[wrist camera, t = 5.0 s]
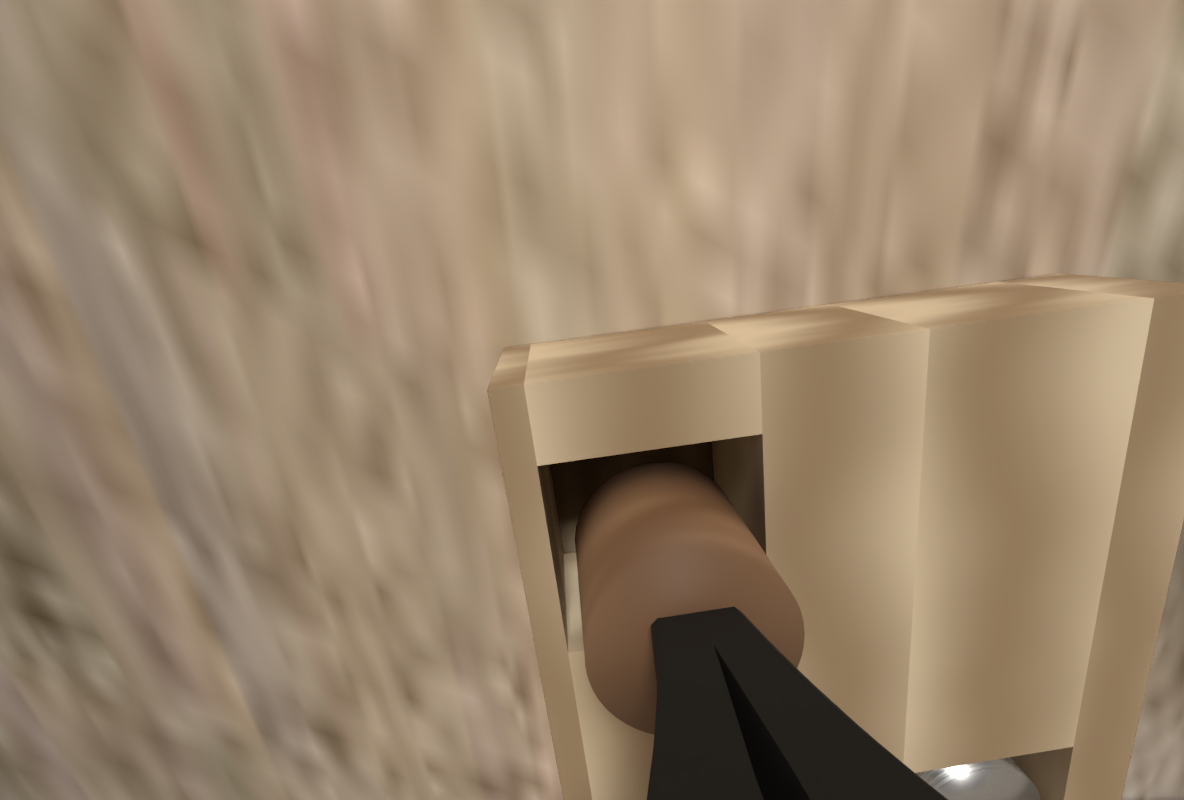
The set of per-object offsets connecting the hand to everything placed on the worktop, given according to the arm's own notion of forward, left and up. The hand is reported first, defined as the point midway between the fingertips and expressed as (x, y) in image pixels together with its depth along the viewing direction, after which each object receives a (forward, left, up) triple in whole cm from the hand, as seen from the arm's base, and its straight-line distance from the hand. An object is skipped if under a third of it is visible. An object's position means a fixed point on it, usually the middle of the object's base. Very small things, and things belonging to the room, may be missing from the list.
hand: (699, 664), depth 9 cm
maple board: (-5, +5, -7) cm, 10 cm away
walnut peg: (0, 0, -4) cm, 4 cm away
